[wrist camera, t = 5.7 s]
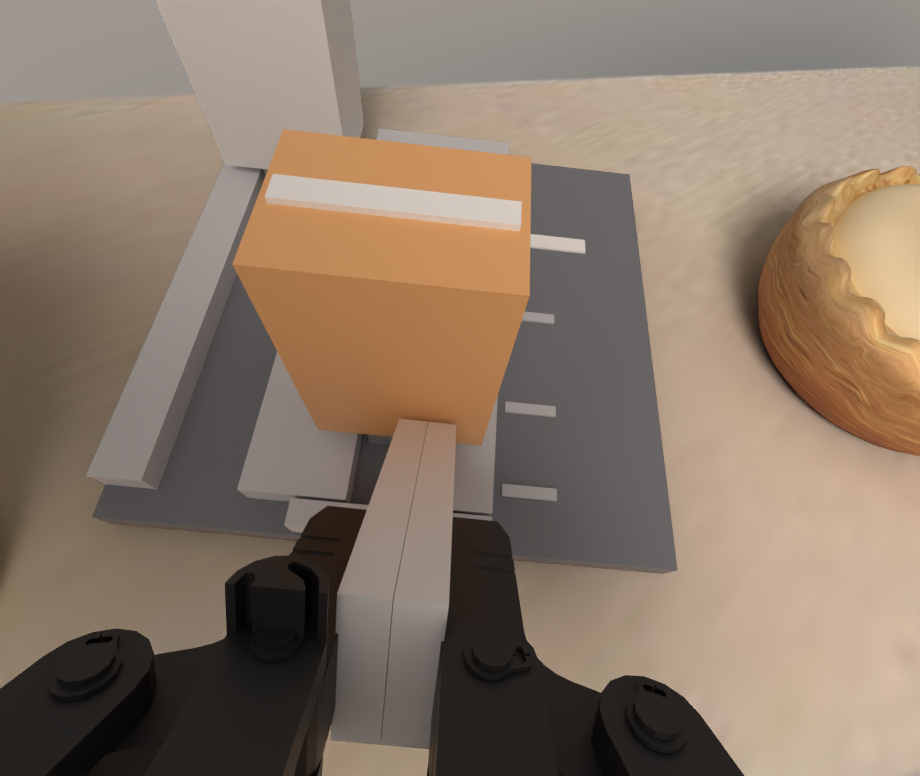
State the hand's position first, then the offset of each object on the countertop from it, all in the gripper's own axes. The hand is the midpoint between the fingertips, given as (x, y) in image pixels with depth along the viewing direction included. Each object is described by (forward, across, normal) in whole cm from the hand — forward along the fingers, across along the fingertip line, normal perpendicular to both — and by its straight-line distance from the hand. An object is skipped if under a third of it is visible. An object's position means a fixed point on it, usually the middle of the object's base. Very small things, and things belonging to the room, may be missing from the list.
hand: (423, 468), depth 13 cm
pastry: (+9, +18, +3) cm, 20 cm away
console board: (+8, -1, +3) cm, 8 cm away
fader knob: (+4, -1, 0) cm, 4 cm away
